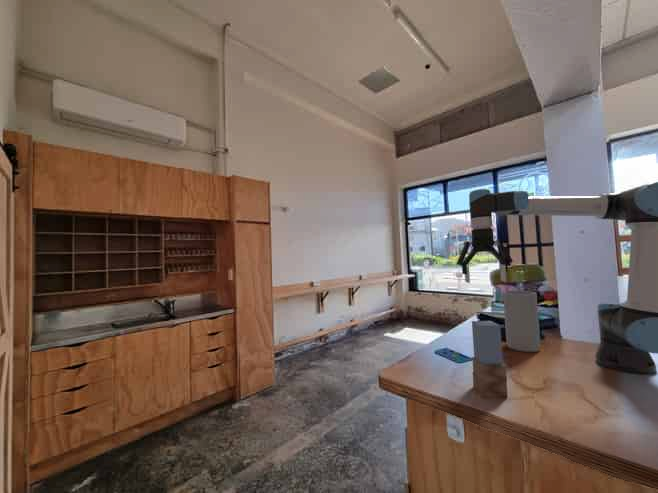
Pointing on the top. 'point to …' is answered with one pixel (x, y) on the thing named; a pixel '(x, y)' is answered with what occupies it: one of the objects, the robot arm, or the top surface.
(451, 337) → the top surface
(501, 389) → the tower base
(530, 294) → the grey cylinder
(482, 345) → the blue block
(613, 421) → the top surface
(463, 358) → the handheld gaming device
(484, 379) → the tower top
